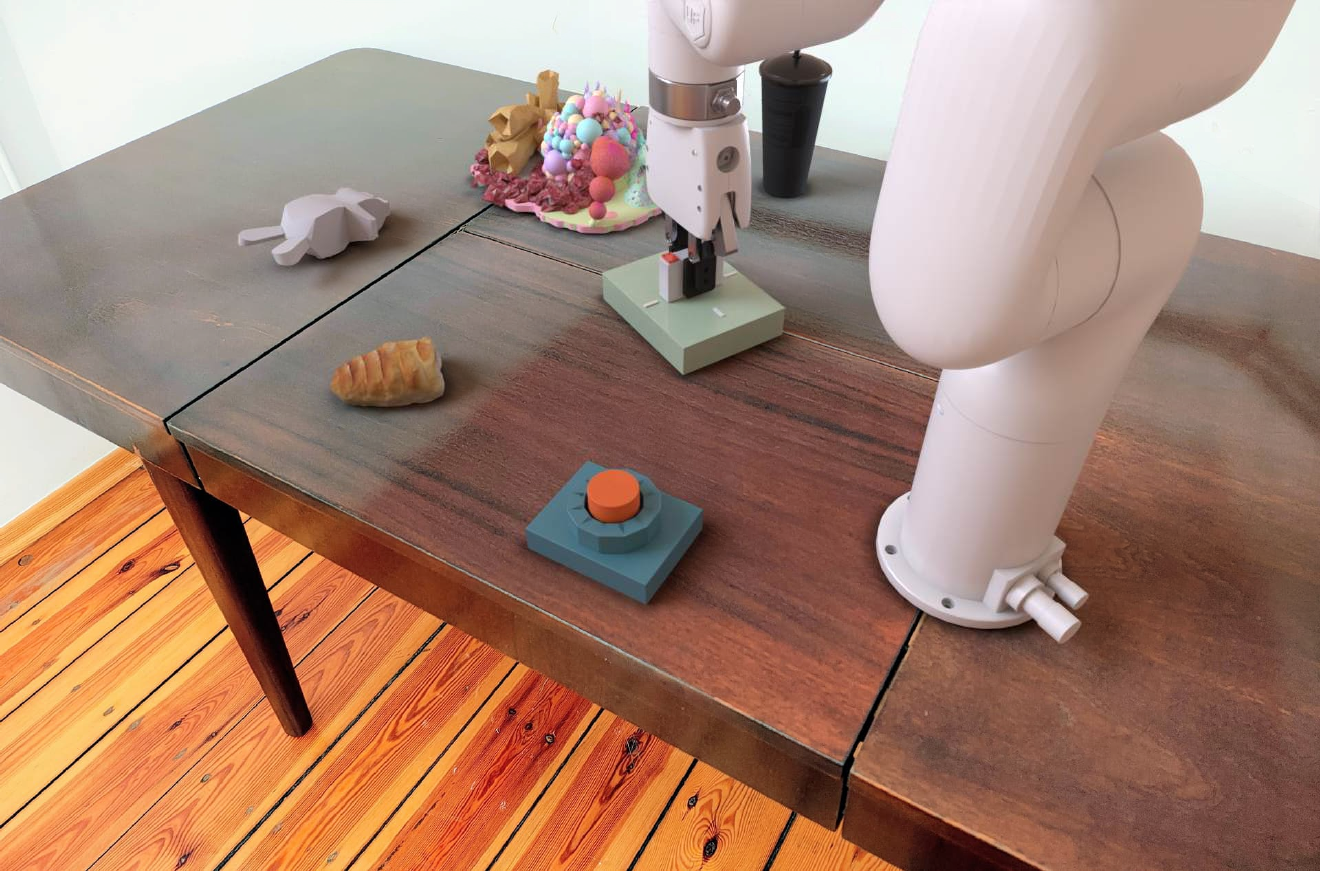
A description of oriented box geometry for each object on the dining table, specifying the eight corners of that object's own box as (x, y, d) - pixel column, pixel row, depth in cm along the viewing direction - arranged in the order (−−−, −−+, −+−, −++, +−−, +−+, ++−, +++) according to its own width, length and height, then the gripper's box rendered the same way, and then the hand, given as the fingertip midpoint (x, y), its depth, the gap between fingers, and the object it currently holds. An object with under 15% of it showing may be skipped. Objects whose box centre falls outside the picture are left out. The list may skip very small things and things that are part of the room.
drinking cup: (829, 182, 107) (853, -1, 94) (799, 210, 102) (820, 22, 89) (770, 166, 110) (784, -14, 97) (738, 192, 106) (749, 8, 92)
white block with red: (713, 275, 88) (715, 236, 85) (723, 283, 87) (725, 244, 84) (658, 294, 85) (658, 254, 82) (668, 303, 84) (668, 263, 81)
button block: (702, 529, 68) (704, 491, 66) (646, 605, 63) (645, 568, 61) (589, 480, 72) (586, 442, 69) (527, 548, 67) (522, 511, 64)
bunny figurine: (405, 194, 97) (284, 241, 87) (410, 239, 100) (294, 289, 90) (344, 170, 101) (222, 212, 91) (351, 214, 104) (233, 259, 94)
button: (649, 498, 66) (649, 480, 65) (622, 531, 64) (621, 514, 62) (606, 479, 67) (605, 462, 66) (578, 511, 65) (576, 494, 64)
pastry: (337, 423, 77) (326, 388, 75) (332, 375, 82) (321, 340, 79) (451, 400, 79) (443, 364, 77) (439, 354, 84) (432, 319, 81)
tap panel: (782, 334, 86) (785, 306, 84) (683, 375, 82) (683, 346, 79) (697, 265, 95) (697, 237, 92) (603, 298, 90) (601, 271, 88)
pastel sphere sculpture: (434, 198, 105) (419, 119, 98) (541, 117, 120) (535, 44, 114) (633, 248, 97) (630, 166, 91) (720, 155, 112) (723, 78, 106)
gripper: (795, 115, 70) (775, 316, 82) (683, 48, 80) (680, 237, 92) (711, 138, 67) (704, 343, 79) (606, 66, 77) (614, 258, 89)
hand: (691, 285), depth 86 cm, fingers closed on white block with red
